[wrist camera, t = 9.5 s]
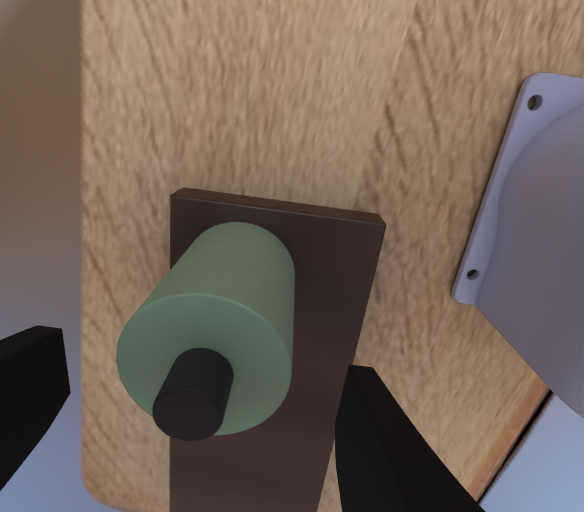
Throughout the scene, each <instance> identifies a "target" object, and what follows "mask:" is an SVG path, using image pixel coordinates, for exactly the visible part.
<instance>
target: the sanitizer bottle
mask: <svg viewBox="0 0 584 512" xmlns="http://www.w3.org/2000/svg"><path fill="white" fill-rule="evenodd" d="M294 293H295V268H294V264H293V260H292V258H291V255H290V253H289V252H288V250H287V248H286V247H285V245H284V244H283V243H282V242H281V241H280V240H279V239H278V238H277V237H276V236H275V235H274V234H272V233H271V232H269V231H267V230H266V229H264V228H262V227H260V226H257V225H254V224H250V223H245V222H228V223H223V224H219V225H216V226H214V227H212V228H209V229H208V230H206V231H205V232H203V233H202V234H201V235H200V236H198V237H197V238H196V240H195V241H194V242H193V243H192V245H191V246H190V247H189V248H188V249H187V251H186V252H185V253H184V254H183V255H182V257H181V258H180V259H179V260H178V262H177V263H176V264H175V265H174V266H173V268H172V269H171V270H170V271H169V272H168V274H167V275H166V276H165V277H164V279H163V280H162V281H161V282H160V283H159V285H158V286H157V287H156V288H155V289H154V291H153V292H152V293H151V294H150V296H149V297H148V298H147V299H146V300H145V302H144V303H143V304H142V305H141V306H140V308H139V309H138V310H137V311H136V313H135V314H134V315H133V316H132V317H131V319H130V320H129V321H128V322H127V323H126V325H125V327H124V329H123V330H122V332H121V335H120V338H119V341H118V346H117V358H116V361H117V368H118V372H119V375H120V379H121V381H122V383H123V385H124V387H125V389H126V390H127V392H128V393H129V395H130V396H131V398H132V399H133V400H134V401H135V402H136V403H137V404H138V405H139V406H140V407H141V408H142V409H143V410H144V411H145V412H147V413H148V414H149V415H151V416H152V417H153V419H154V421H155V423H156V425H157V426H158V427H159V429H160V430H161V431H162V432H164V433H165V434H167V435H168V436H170V437H172V438H174V439H177V440H181V441H186V442H197V441H202V440H205V439H208V438H210V437H211V436H213V435H226V434H233V433H237V432H241V431H244V430H247V429H250V428H252V427H254V426H256V425H258V424H260V423H261V422H263V421H264V420H266V419H267V418H268V417H270V416H271V415H272V414H273V413H274V412H275V411H276V410H277V409H278V407H279V406H280V405H281V403H282V402H283V400H284V399H285V397H286V395H287V392H288V390H289V387H290V383H291V375H292V352H293V323H294Z"/></svg>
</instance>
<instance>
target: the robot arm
mask: <svg viewBox="0 0 584 512" xmlns="http://www.w3.org/2000/svg"><path fill="white" fill-rule="evenodd" d="M532 96H534V97H535V99H536V104H535V106H534V107H533V108H532V109H531V110H530V109H529V108H528V106H527V104H528V100H529V99H530V98H531V97H532ZM474 269H475V273H474V274H473V275H471V276H467V273H468V272H469V271H470V270H474ZM451 294H452V296H453V298H454V299H455V300H456V301H457V302H458V303H461V304H466V305H474V306H476V307H477V308H478V309H479V310H480V311H481V313H482V314H483V315H484V316H485V317H486V318H487V319H488V320H489V321H490V323H491V324H492V325H493V326H494V327H495V328H496V329H497V330H498V331H499V333H500V334H501V335H502V336H503V337H504V338H505V339H506V340H507V341H508V343H509V344H510V345H511V346H512V347H513V348H514V349H515V350H516V351H517V353H518V354H519V355H520V356H521V357H522V358H523V359H524V360H525V361H526V363H527V364H528V365H529V366H530V367H531V368H532V369H533V370H534V371H535V373H536V374H537V375H538V376H539V377H540V378H541V379H542V380H543V381H544V383H545V384H546V385H547V386H548V387H549V388H550V389H551V390H552V391H553V392H554V393H555V394H556V395H557V396H558V397H559V398H560V399H561V400H562V401H563V402H564V403H565V404H567V405H568V406H569V407H570V408H572V409H573V410H574V411H575V412H576V413H578V414H579V415H580V416H582V417H583V418H584V78H579V77H573V76H566V75H559V74H553V73H546V72H543V73H535V74H532V75H530V76H529V77H528V78H527V79H525V80H524V82H523V84H522V86H521V89H520V91H519V94H518V97H517V100H516V103H515V106H514V109H513V112H512V115H511V118H510V121H509V124H508V127H507V130H506V133H505V135H504V138H503V141H502V144H501V147H500V150H499V153H498V156H497V159H496V162H495V165H494V168H493V171H492V174H491V177H490V180H489V182H488V185H487V188H486V191H485V194H484V197H483V200H482V203H481V206H480V209H479V212H478V215H477V218H476V221H475V224H474V226H473V229H472V232H471V235H470V238H469V241H468V244H467V247H466V250H465V253H464V256H463V259H462V262H461V265H460V268H459V271H458V273H457V276H456V279H455V282H454V285H453V288H452V293H451ZM70 393H71V392H70V385H69V377H68V370H67V362H66V355H65V348H64V340H63V333H62V329H61V328H53V327H45V326H34V327H32V328H29V329H26V330H24V331H21V332H19V333H16V334H14V335H11V336H9V337H7V338H4V339H2V340H0V491H1V490H2V488H3V487H4V486H5V485H6V483H7V482H8V481H9V480H10V478H11V477H12V476H13V475H14V473H15V472H16V471H17V470H18V468H19V467H20V466H21V464H22V463H23V462H24V461H25V459H26V458H27V457H28V455H29V454H30V453H31V452H32V450H33V449H34V448H35V446H36V445H37V444H38V443H39V441H40V440H41V438H42V437H43V436H44V435H45V433H46V432H47V431H48V429H49V427H50V426H51V424H52V423H53V421H54V419H55V418H56V416H57V415H58V413H59V411H60V410H61V408H62V406H63V404H64V403H65V401H66V400H67V398H68V396H69V395H70ZM335 454H336V470H337V477H338V485H339V492H340V499H341V506H342V512H485V511H484V510H483V509H482V508H481V506H480V505H479V504H478V503H477V502H476V501H475V500H474V499H473V498H472V496H471V495H470V494H469V493H468V492H467V491H466V490H465V489H464V487H463V486H462V485H461V484H460V483H459V482H458V480H457V479H456V478H455V477H454V476H453V474H452V473H451V472H450V471H449V470H448V468H447V467H446V466H445V465H444V464H443V462H442V461H441V460H440V459H439V458H438V456H437V455H436V454H435V452H434V451H433V450H432V449H431V447H430V446H429V445H428V443H427V442H426V441H425V439H424V438H423V437H422V436H421V434H420V433H419V432H418V430H417V429H416V428H415V426H414V425H413V424H412V422H411V421H410V420H409V418H408V417H407V415H406V414H405V413H404V411H403V410H402V408H401V407H400V406H399V404H398V403H397V401H396V400H395V399H394V397H393V396H392V394H391V393H390V391H389V390H388V389H387V387H386V386H385V384H384V383H383V381H382V380H381V378H380V377H379V376H378V374H377V373H376V371H375V370H374V369H373V367H365V366H357V365H349V366H348V370H347V374H346V379H345V383H344V387H343V391H342V395H341V400H340V404H339V408H338V412H337V416H336V421H335Z"/></svg>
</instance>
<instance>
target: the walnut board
mask: <svg viewBox="0 0 584 512" xmlns="http://www.w3.org/2000/svg"><path fill="white" fill-rule="evenodd" d="M228 222H245V223H250V224H254V225H257V226H260V227H262V228H264V229H266V230H267V231H269V232H271V233H272V234H274V235H275V236H276V237H277V238H278V239H279V240H280V241H281V242H282V243H283V244H284V245H285V247H286V248H287V250H288V252H289V253H290V255H291V258H292V260H293V264H294V268H295V293H294V323H293V352H292V375H291V383H290V387H289V390H288V392H287V395H286V397H285V399H284V400H283V402H282V403H281V405H280V406H279V407H278V409H277V410H276V411H275V412H274V413H273V414H272V415H271V416H270V417H268V418H267V419H266V420H264V421H263V422H261V423H260V424H258V425H256V426H254V427H252V428H250V429H247V430H244V431H241V432H237V433H233V434H226V435H213V436H211V437H210V438H208V439H205V440H202V441H197V442H186V441H181V440H177V439H174V438H172V437H170V512H317V509H318V504H319V500H320V496H321V492H322V488H323V484H324V480H325V476H326V472H327V467H328V463H329V459H330V455H331V451H332V447H333V443H334V439H335V421H336V416H337V412H338V408H339V404H340V400H341V395H342V391H343V387H344V383H345V379H346V374H347V370H348V366H349V365H353V361H354V356H355V352H356V348H357V344H358V340H359V336H360V332H361V328H362V324H363V319H364V315H365V311H366V307H367V303H368V299H369V295H370V291H371V287H372V282H373V278H374V274H375V270H376V266H377V262H378V258H379V254H380V250H381V245H382V241H383V237H384V233H385V229H386V223H385V222H384V221H383V219H382V218H381V217H380V215H379V214H374V213H366V212H359V211H352V210H344V209H337V208H330V207H322V206H315V205H307V204H300V203H293V202H285V201H278V200H271V199H263V198H256V197H248V196H241V195H234V194H226V193H219V192H212V191H204V190H197V189H189V188H181V189H180V190H178V191H176V192H175V193H173V194H172V195H171V196H170V270H171V269H172V268H173V266H174V265H175V264H176V263H177V262H178V260H179V259H180V258H181V257H182V255H183V254H184V253H185V252H186V251H187V249H188V248H189V247H190V246H191V245H192V243H193V242H194V241H195V240H196V238H197V237H198V236H200V235H201V234H202V233H203V232H205V231H206V230H208V229H209V228H212V227H214V226H216V225H219V224H223V223H228Z"/></svg>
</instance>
